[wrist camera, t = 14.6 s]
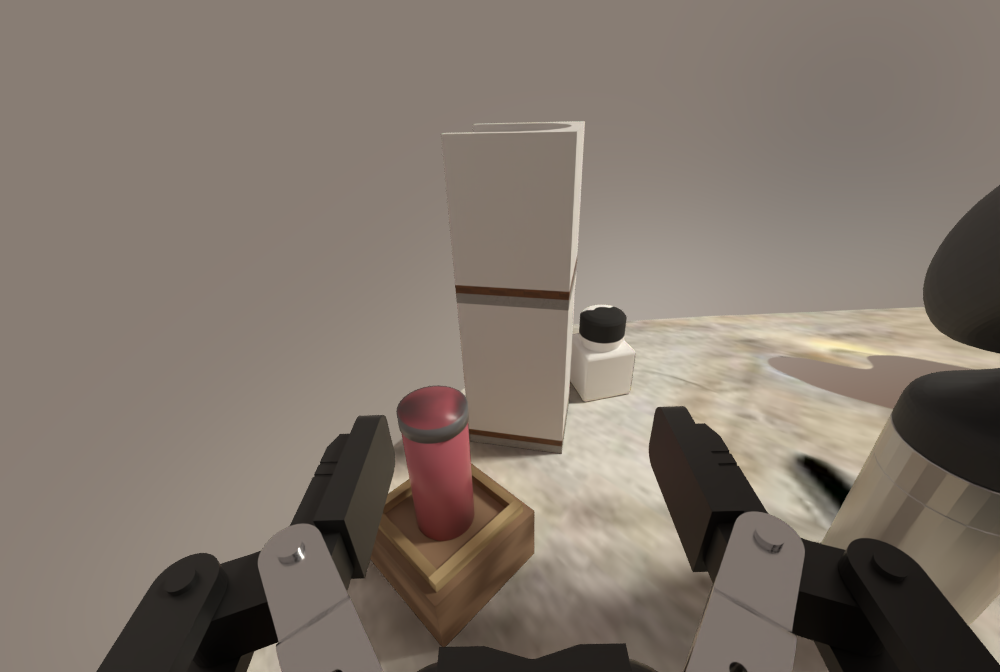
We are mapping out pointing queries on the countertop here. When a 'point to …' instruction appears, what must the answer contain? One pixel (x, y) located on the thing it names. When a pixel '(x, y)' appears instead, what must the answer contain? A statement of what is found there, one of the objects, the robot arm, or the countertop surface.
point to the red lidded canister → (438, 459)
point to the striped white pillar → (515, 274)
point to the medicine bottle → (601, 354)
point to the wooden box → (453, 555)
